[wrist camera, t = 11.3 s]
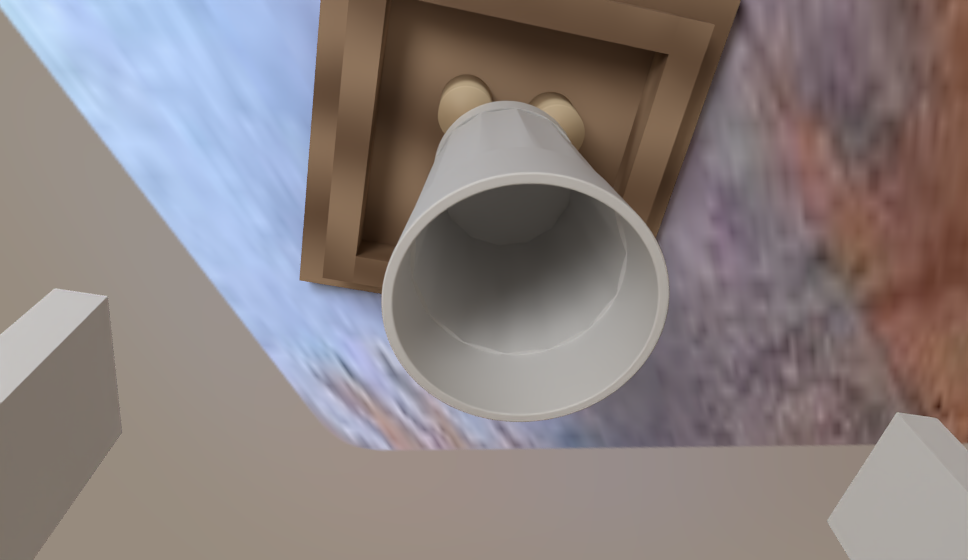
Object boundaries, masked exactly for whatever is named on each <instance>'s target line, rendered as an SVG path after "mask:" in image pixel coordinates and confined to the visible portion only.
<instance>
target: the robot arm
mask: <svg viewBox="0 0 968 560" xmlns="http://www.w3.org/2000/svg"><path fill="white" fill-rule="evenodd" d="M121 433H122V426H121V417H120V407H119V398H118V389H117V379H116V370H115V360H114V351H113V341H112V333H111V322H110V313H109V303H108V296H103V295H96V294H90V293H83V292H76V291H69V290H62V289H56V288H55V289H53V290H52V291H51V292H50V293H49V294H47V295H46V296H45V297H44V298H43V299H42V300H41V301H39V302H38V303H37V304H36V305H35V306H33V308H31V309H30V310H29V311H28V312H26V313H25V314H24V315H23V316H22V317H21V318H19V319H18V320H17V321H16V322H15V323H14V324H12V325H11V326H10V327H9V328H8V329H7V330H5V331H4V332H3V333H2V334H1V335H0V560H33V559H34V558H35V556H36V555H37V554H38V552H39V551H40V549H41V548H42V546H43V545H44V544H45V542H46V541H47V539H48V537H49V536H50V535H51V533H52V532H53V531H54V529H55V528H56V526H57V525H58V524H59V522H60V521H61V519H62V518H63V516H64V515H65V514H66V512H67V511H68V509H69V508H70V506H71V505H72V503H73V502H74V501H75V499H76V498H77V496H78V495H79V493H80V492H81V491H82V489H83V488H84V486H85V485H86V483H87V482H88V481H89V479H90V478H91V476H92V475H93V473H94V472H95V470H96V469H97V467H98V466H99V465H100V463H101V462H102V461H103V459H104V458H105V456H106V455H107V453H108V452H109V450H110V449H111V447H112V446H113V445H114V443H115V442H116V440H117V439H118V438H119V436H120V435H121ZM827 522H828V524H829V525H830V527H831V529H832V530H833V532H834V534H835V535H836V537H837V539H838V540H839V542H840V543H841V545H842V547H843V549H844V550H845V552H846V553H847V555H848V557H849V558H850V560H968V450H967V449H966V448H965V447H964V446H963V445H962V444H961V443H960V442H959V441H958V440H957V439H956V438H955V437H954V436H953V435H952V433H951V432H950V431H949V430H948V429H947V428H946V427H945V426H944V425H943V424H942V423H941V422H940V421H939V420H938V419H937V418H932V417H926V416H919V415H912V414H905V413H898V412H897V413H896V414H895V416H894V418H893V419H892V421H891V422H890V424H889V425H888V427H887V428H886V430H885V431H884V433H883V435H882V436H881V438H880V439H879V441H878V442H877V444H876V445H875V447H874V449H873V450H872V452H871V453H870V455H869V457H868V458H867V459H866V461H865V463H864V464H863V466H862V467H861V469H860V470H859V472H858V473H857V475H856V477H855V478H854V480H853V481H852V483H851V484H850V486H849V487H848V489H847V490H846V492H845V494H844V495H843V497H842V498H841V500H840V501H839V503H838V505H837V506H836V508H835V509H834V511H833V512H832V514H831V515H830V517H829V518H828V520H827Z"/></svg>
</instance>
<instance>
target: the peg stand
mask: <svg viewBox="0 0 968 560" xmlns="http://www.w3.org/2000/svg"><path fill="white" fill-rule="evenodd" d="M740 1H741V0H321V3H320V17H319V30H318V43H317V56H316V69H315V83H314V96H313V109H312V122H311V136H310V149H309V162H308V175H307V188H306V202H305V215H304V228H303V241H302V255H301V268H300V280H301V281H307V282H313V283H319V284H326V285H332V286H338V287H344V288H350V289H356V290H362V291H368V292H374V293H380V294H382V287H383V281H384V276H385V272H386V269H387V266H388V263H389V260H390V258H391V256H392V253H393V251H394V249H395V247H396V245H397V243H398V241H399V239H400V237H401V235H402V232H403V230H404V228H405V226H406V224H407V222H408V220H409V218H410V216H411V214H412V212H413V210H414V208H415V206H416V203H417V201H418V199H419V196H420V194H421V192H422V189H423V187H424V185H425V182H426V180H427V178H428V175H429V173H430V171H431V168H432V166H433V164H434V161H435V156H436V152H437V149H438V146H439V144H440V141H441V139H442V138H443V136H444V134H445V133H446V131H447V130H448V129H449V127H450V126H451V125H452V124H453V123H454V122H455V121H456V120H457V119H458V118H459V117H461V116H462V115H463V114H465V113H466V112H468V111H470V110H471V109H473V108H475V107H478V106H480V105H483V104H486V103H490V102H496V101H517V102H522V103H526V104H529V105H532V106H535V107H537V108H539V109H541V110H543V111H544V112H546V113H547V114H549V115H550V116H551V117H553V118H554V119H555V120H556V121H557V122H558V123H559V124H560V126H561V127H562V128H563V129H564V131H565V132H566V134H567V136H568V137H569V139H570V141H571V143H572V145H573V146H574V147H575V148H576V149H577V150H578V152H579V153H580V154H581V155H582V156H583V157H584V159H585V160H586V161H587V162H588V163H589V164H590V165H591V167H592V168H593V169H594V170H595V171H596V172H597V173H598V174H599V175H600V176H601V177H602V178H603V179H604V180H606V182H607V183H608V184H609V185H610V186H611V187H612V188H613V189H614V190H615V191H616V192H617V193H618V194H619V195H620V196H621V197H622V198H623V199H624V201H625V202H626V203H627V204H628V205H629V206H630V207H631V208H632V209H633V210H634V211H635V212H636V213H637V214H638V215H639V216H640V218H641V219H642V220H643V221H644V222H645V224H646V225H647V226H648V228H649V229H650V230H651V232H652V233H653V235H654V237H655V239H656V236H657V233H658V230H659V228H660V225H661V222H662V219H663V216H664V214H665V211H666V208H667V205H668V203H669V200H670V197H671V194H672V191H673V189H674V186H675V183H676V180H677V177H678V175H679V172H680V169H681V166H682V163H683V161H684V158H685V155H686V152H687V149H688V147H689V144H690V141H691V138H692V135H693V133H694V130H695V127H696V124H697V121H698V119H699V116H700V113H701V110H702V107H703V105H704V102H705V99H706V96H707V93H708V91H709V88H710V85H711V82H712V80H713V77H714V74H715V71H716V68H717V66H718V63H719V60H720V57H721V54H722V52H723V49H724V46H725V43H726V40H727V38H728V35H729V32H730V29H731V26H732V24H733V21H734V18H735V15H736V12H737V10H738V7H739V4H740Z"/></svg>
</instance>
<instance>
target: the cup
mask: <svg viewBox="0 0 968 560" xmlns="http://www.w3.org/2000/svg"><path fill="white" fill-rule="evenodd" d="M381 305H382V316H383V323H384V327H385V331H386V334H387V337H388V340H389V343H390V345H391V347H392V349H393V351H394V353H395V355H396V357H397V359H398V360H399V362H400V363H401V365H402V366H403V367H404V369H405V370H406V371H407V373H408V374H409V375H410V376H411V377H412V378H413V379H414V380H415V381H416V382H417V383H418V384H419V385H420V386H421V387H422V388H423V389H425V390H426V391H427V392H428V393H430V394H431V395H433V396H434V397H436V398H437V399H439V400H440V401H442V402H444V403H445V404H447V405H449V406H451V407H453V408H456V409H458V410H460V411H463V412H466V413H468V414H471V415H475V416H478V417H482V418H487V419H492V420H499V421H510V422H529V421H540V420H547V419H552V418H557V417H561V416H565V415H568V414H571V413H574V412H577V411H580V410H582V409H585V408H587V407H589V406H591V405H593V404H595V403H597V402H599V401H601V400H602V399H604V398H606V397H607V396H609V395H610V394H612V393H613V392H615V391H616V390H617V389H619V388H620V387H621V386H622V385H624V384H625V383H626V382H627V381H628V380H629V379H630V378H631V377H632V376H633V375H634V374H635V373H636V372H637V371H638V370H639V369H640V368H641V366H642V365H643V364H644V363H645V361H646V360H647V359H648V357H649V356H650V354H651V352H652V351H653V349H654V347H655V345H656V344H657V342H658V340H659V337H660V335H661V333H662V330H663V327H664V324H665V320H666V316H667V311H668V305H669V279H668V272H667V267H666V263H665V260H664V257H663V254H662V251H661V249H660V247H659V244H658V242H657V240H656V239H655V237H654V235H653V233H652V232H651V230H650V229H649V228H648V226H647V225H646V224H645V222H644V221H643V220H642V219H641V218H640V216H639V215H638V214H637V213H636V212H635V211H634V210H633V209H632V208H631V207H630V206H629V205H628V204H627V203H626V202H625V201H624V199H623V198H622V197H621V196H620V195H619V194H618V193H617V192H616V191H615V190H614V189H613V188H612V187H611V186H610V185H609V184H608V183H607V182H606V180H604V179H603V178H602V177H601V176H600V175H599V174H598V173H597V172H596V171H595V170H594V169H593V168H592V167H591V165H590V164H589V163H588V162H587V161H586V160H585V159H584V157H583V156H582V155H581V154H580V153H579V152H578V150H577V149H576V148H575V147H574V146H573V145H572V143H571V141H570V139H569V137H568V136H567V134H566V132H565V131H564V129H563V128H562V127H561V126H560V124H559V123H558V122H557V121H556V120H555V119H554V118H553V117H551V116H550V115H549V114H547V113H546V112H544V111H543V110H541V109H539V108H537V107H535V106H532V105H529V104H526V103H522V102H517V101H496V102H490V103H486V104H483V105H480V106H478V107H475V108H473V109H471V110H470V111H468V112H466V113H465V114H463V115H462V116H461V117H459V118H458V119H457V120H456V121H455V122H454V123H453V124H452V125H451V126H450V127H449V129H448V130H447V131H446V133H445V134H444V136H443V138H442V139H441V141H440V144H439V146H438V149H437V152H436V156H435V161H434V164H433V166H432V168H431V171H430V173H429V175H428V178H427V180H426V182H425V185H424V187H423V189H422V192H421V194H420V196H419V199H418V201H417V203H416V206H415V208H414V210H413V212H412V214H411V216H410V218H409V220H408V222H407V224H406V226H405V228H404V230H403V232H402V235H401V237H400V239H399V241H398V243H397V245H396V247H395V249H394V251H393V253H392V256H391V258H390V260H389V263H388V266H387V269H386V272H385V276H384V281H383V287H382V301H381Z"/></svg>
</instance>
